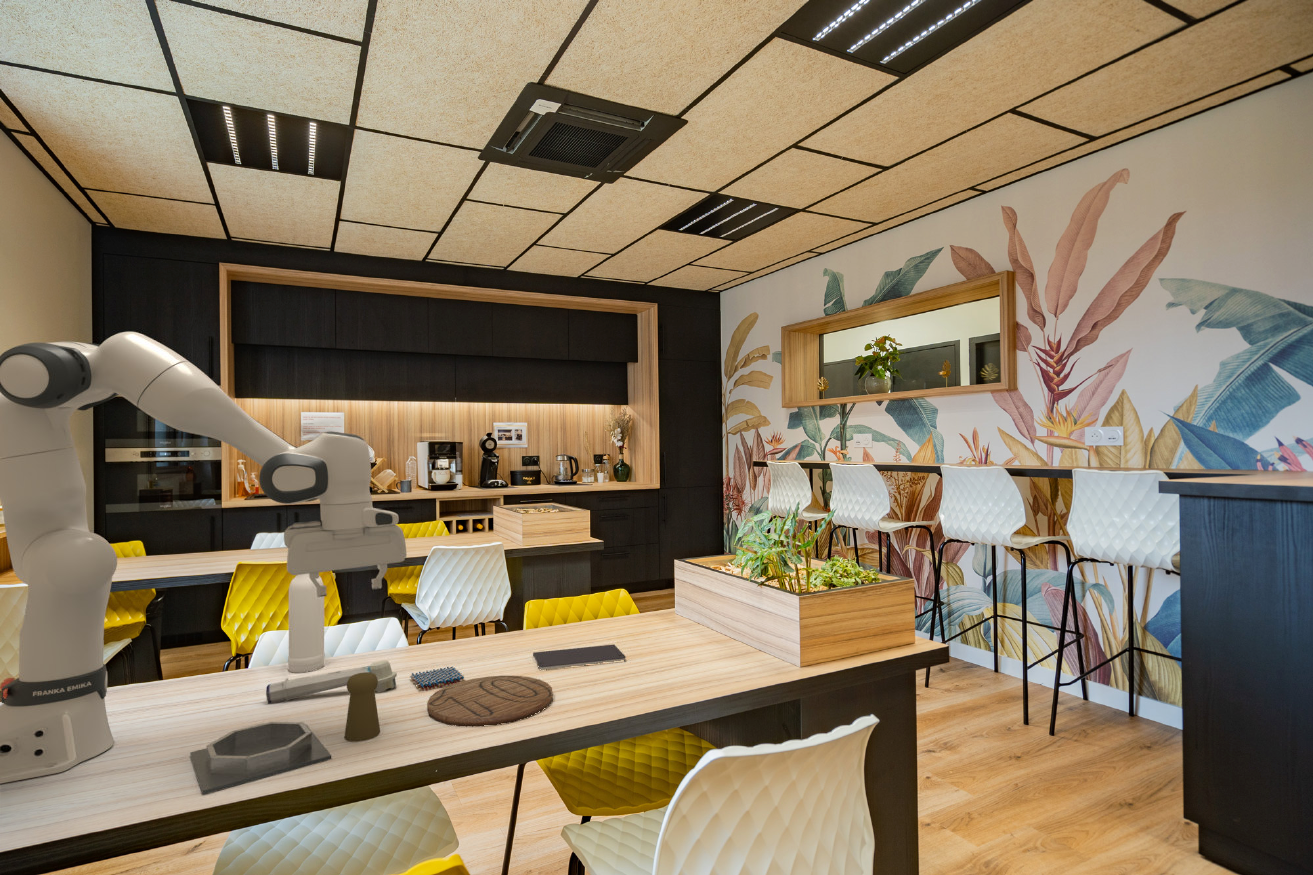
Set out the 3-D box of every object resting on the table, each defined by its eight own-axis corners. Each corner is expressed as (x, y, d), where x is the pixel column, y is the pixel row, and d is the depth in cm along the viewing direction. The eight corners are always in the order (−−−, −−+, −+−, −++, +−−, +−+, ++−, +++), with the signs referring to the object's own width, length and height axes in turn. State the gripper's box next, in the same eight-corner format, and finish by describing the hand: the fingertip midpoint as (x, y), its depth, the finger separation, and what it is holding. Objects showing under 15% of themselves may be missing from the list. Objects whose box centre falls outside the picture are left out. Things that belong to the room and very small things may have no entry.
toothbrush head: (270, 680, 143) (394, 652, 150) (275, 710, 143) (398, 681, 150) (264, 687, 138) (392, 658, 145) (268, 719, 138) (397, 688, 145)
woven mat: (453, 673, 159) (453, 664, 159) (467, 685, 150) (467, 676, 150) (408, 681, 153) (408, 672, 153) (419, 694, 144) (419, 685, 144)
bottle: (280, 671, 161) (280, 546, 162) (307, 661, 168) (307, 542, 169) (305, 674, 158) (305, 547, 159) (332, 664, 165) (331, 543, 166)
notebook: (614, 650, 176) (533, 658, 169) (614, 644, 176) (532, 652, 169) (626, 663, 164) (539, 673, 157) (626, 657, 164) (539, 666, 157)
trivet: (471, 740, 120) (471, 729, 120) (404, 707, 136) (404, 697, 137) (577, 701, 138) (577, 692, 138) (507, 676, 155) (506, 668, 155)
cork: (343, 744, 118) (343, 681, 118) (344, 731, 123) (344, 671, 124) (380, 738, 120) (380, 676, 121) (380, 725, 126) (379, 667, 126)
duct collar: (202, 794, 101) (202, 774, 101) (190, 755, 114) (190, 737, 114) (331, 758, 112) (331, 740, 112) (305, 727, 126) (305, 710, 126)
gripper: (284, 525, 116) (287, 604, 116) (407, 514, 127) (409, 586, 127) (282, 522, 122) (285, 598, 121) (400, 512, 133) (402, 581, 132)
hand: (349, 592), depth 124 cm, fingers open, 8 cm apart
